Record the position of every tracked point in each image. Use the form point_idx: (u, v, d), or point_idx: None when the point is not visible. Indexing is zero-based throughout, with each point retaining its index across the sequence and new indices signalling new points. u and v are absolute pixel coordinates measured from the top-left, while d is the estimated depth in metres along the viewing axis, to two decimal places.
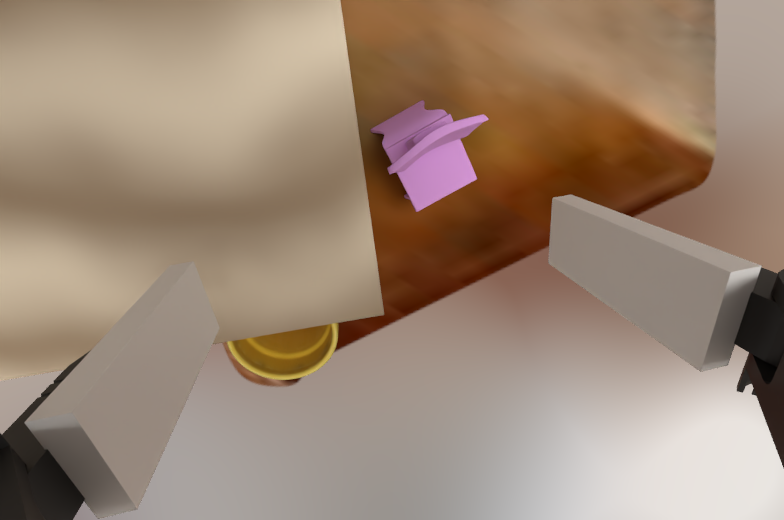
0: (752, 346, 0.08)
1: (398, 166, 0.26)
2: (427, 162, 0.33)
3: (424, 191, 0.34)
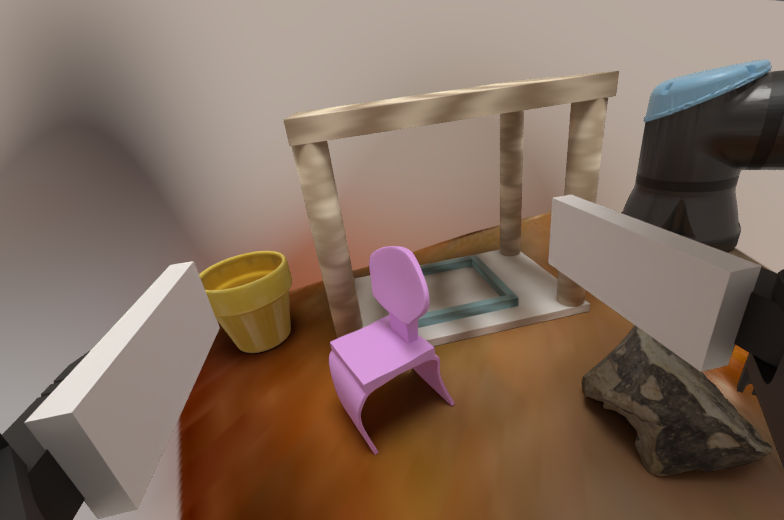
0: (752, 346, 0.08)
1: (375, 251, 0.31)
2: (382, 341, 0.30)
3: (351, 343, 0.30)
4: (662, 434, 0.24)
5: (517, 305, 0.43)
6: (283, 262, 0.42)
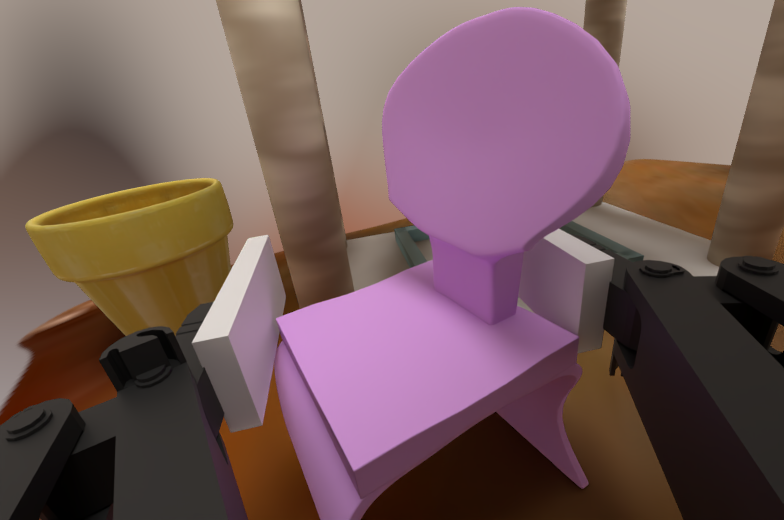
0: (616, 334, 0.09)
1: None
2: (414, 319, 0.11)
3: (330, 323, 0.11)
4: None
5: None
6: (211, 186, 0.23)
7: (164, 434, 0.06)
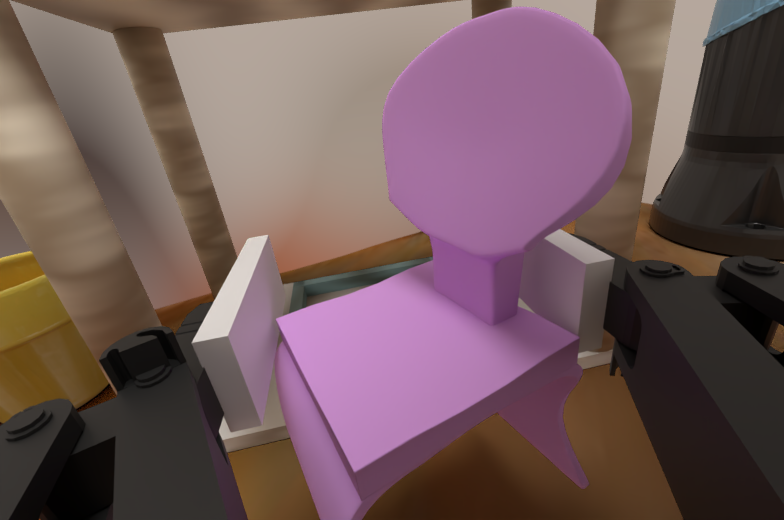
0: (616, 334, 0.09)
1: None
2: (414, 319, 0.11)
3: (330, 323, 0.11)
4: None
5: None
6: None
7: (164, 434, 0.06)
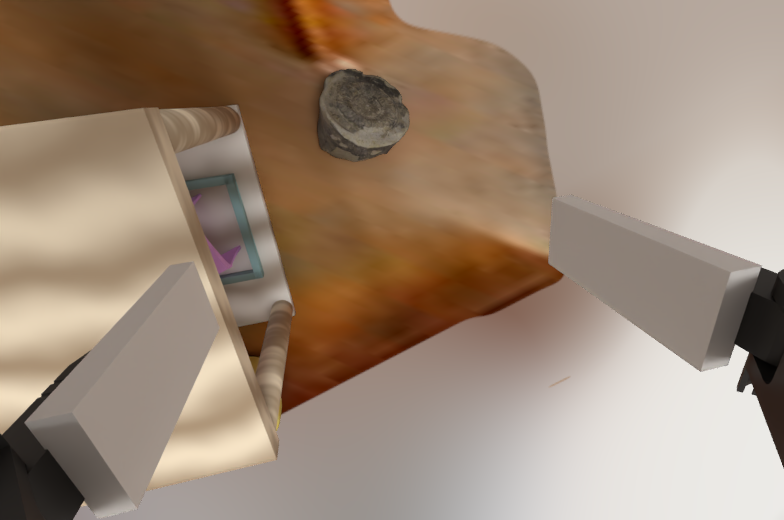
0: (752, 346, 0.08)
1: None
2: None
3: None
4: (386, 152, 0.44)
5: (234, 174, 0.45)
6: None
7: None
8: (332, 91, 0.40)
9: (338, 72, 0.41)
